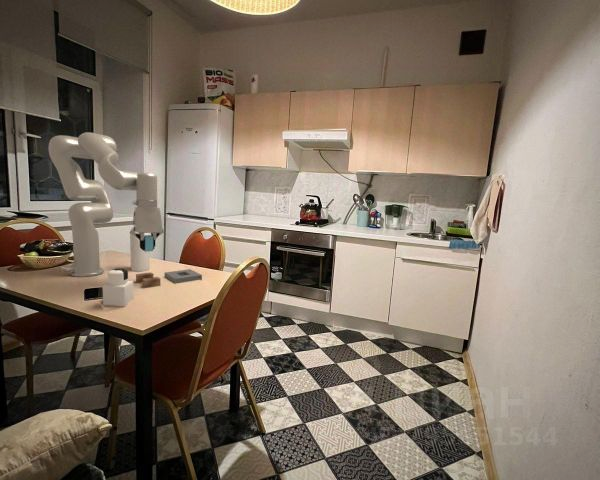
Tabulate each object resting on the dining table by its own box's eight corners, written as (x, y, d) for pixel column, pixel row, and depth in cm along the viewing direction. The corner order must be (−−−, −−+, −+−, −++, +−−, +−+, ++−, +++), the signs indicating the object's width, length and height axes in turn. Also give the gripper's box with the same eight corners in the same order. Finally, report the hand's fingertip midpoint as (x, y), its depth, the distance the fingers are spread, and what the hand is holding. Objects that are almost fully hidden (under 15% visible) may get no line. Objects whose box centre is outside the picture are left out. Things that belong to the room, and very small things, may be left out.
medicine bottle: (113, 299, 113) (112, 266, 112) (133, 299, 114) (133, 267, 112) (102, 306, 106) (101, 271, 105) (124, 307, 107) (123, 272, 105)
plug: (145, 251, 127) (145, 237, 126) (142, 249, 130) (141, 235, 129) (153, 251, 129) (153, 236, 128) (149, 249, 132) (149, 235, 131)
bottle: (131, 272, 148) (129, 208, 144) (130, 267, 155) (129, 206, 151) (150, 270, 152) (149, 208, 148) (148, 266, 159) (148, 207, 155)
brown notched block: (145, 289, 126) (144, 280, 125) (136, 282, 134) (135, 274, 133) (160, 286, 130) (160, 278, 129) (150, 280, 138) (150, 272, 137)
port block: (175, 284, 134) (175, 278, 133) (164, 277, 142) (164, 272, 142) (201, 280, 142) (201, 274, 142) (190, 274, 151) (190, 269, 150)
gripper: (127, 204, 119) (128, 252, 121) (171, 205, 130) (171, 249, 133) (121, 203, 124) (123, 249, 127) (164, 203, 135) (164, 246, 138)
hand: (147, 248), depth 130 cm, fingers closed on plug, 2 cm apart
